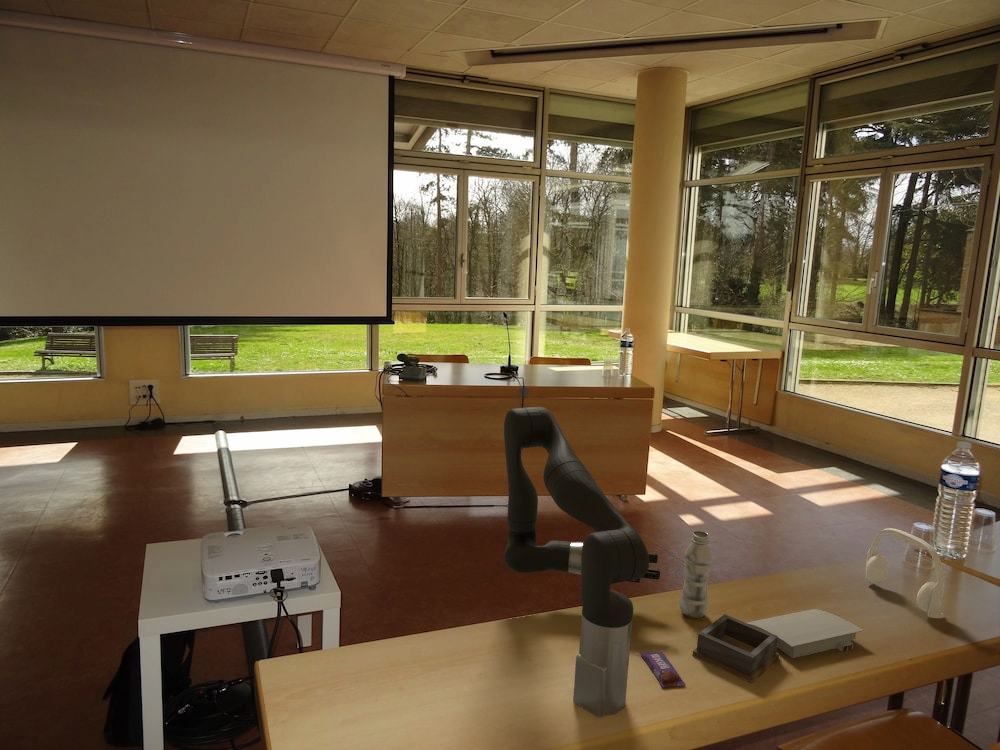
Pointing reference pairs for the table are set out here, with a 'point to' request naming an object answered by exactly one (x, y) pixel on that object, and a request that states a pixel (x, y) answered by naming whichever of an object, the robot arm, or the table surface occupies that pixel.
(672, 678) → the snack package
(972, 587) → the table surface
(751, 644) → the open square tray
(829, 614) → the white router
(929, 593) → the headset
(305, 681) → the table surface
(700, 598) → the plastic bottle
